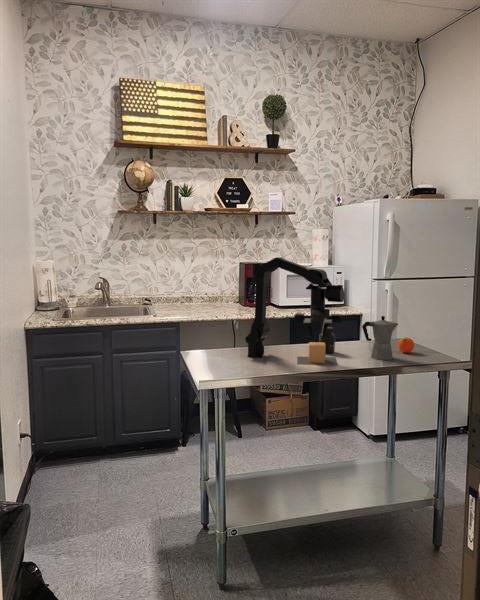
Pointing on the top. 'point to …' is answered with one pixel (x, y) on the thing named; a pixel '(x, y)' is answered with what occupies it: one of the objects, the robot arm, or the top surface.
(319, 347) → the rounded wooden cube
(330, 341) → the supplement bottle
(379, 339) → the coffeepot
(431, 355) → the top surface
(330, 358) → the dark gray mat
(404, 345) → the clementine
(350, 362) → the top surface
